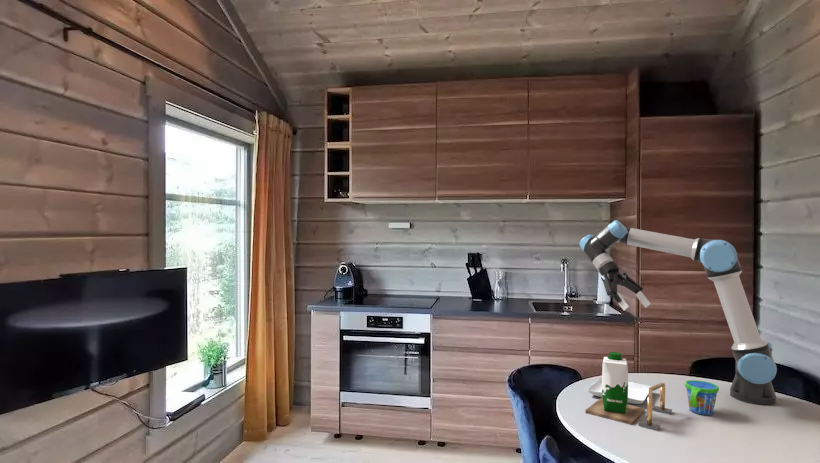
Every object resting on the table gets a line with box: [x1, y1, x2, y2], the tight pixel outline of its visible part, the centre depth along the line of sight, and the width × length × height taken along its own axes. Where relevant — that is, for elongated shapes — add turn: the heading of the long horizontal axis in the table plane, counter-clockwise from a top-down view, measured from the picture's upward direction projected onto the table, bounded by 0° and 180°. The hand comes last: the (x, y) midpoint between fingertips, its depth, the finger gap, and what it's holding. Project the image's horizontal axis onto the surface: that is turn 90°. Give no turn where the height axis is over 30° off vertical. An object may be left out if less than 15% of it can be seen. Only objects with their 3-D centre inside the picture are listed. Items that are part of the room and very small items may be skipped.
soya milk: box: [601, 351, 629, 414], centre depth 180 cm, size 9×9×20 cm
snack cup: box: [684, 379, 720, 416], centre depth 181 cm, size 16×10×10 cm
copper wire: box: [638, 382, 673, 432], centre depth 174 cm, size 6×21×10 cm, turn 140°
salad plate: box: [586, 376, 653, 405], centre depth 198 cm, size 21×21×3 cm
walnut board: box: [584, 397, 646, 426], centre depth 180 cm, size 16×16×1 cm
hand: (637, 307), depth 195 cm, fingers open, 13 cm apart
